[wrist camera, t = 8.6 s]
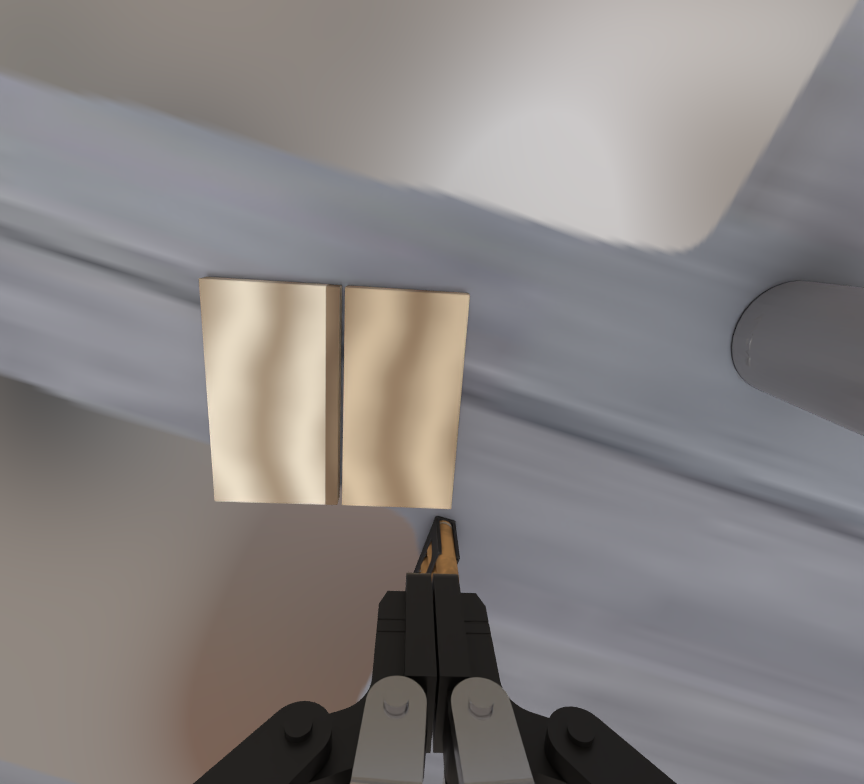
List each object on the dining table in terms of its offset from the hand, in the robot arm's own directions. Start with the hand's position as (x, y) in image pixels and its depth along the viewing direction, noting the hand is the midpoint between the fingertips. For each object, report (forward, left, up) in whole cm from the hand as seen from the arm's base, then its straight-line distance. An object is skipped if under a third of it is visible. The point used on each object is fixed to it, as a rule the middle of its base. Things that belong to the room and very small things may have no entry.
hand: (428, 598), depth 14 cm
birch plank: (+11, +3, -27) cm, 29 cm away
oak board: (+1, +3, -27) cm, 27 cm away
